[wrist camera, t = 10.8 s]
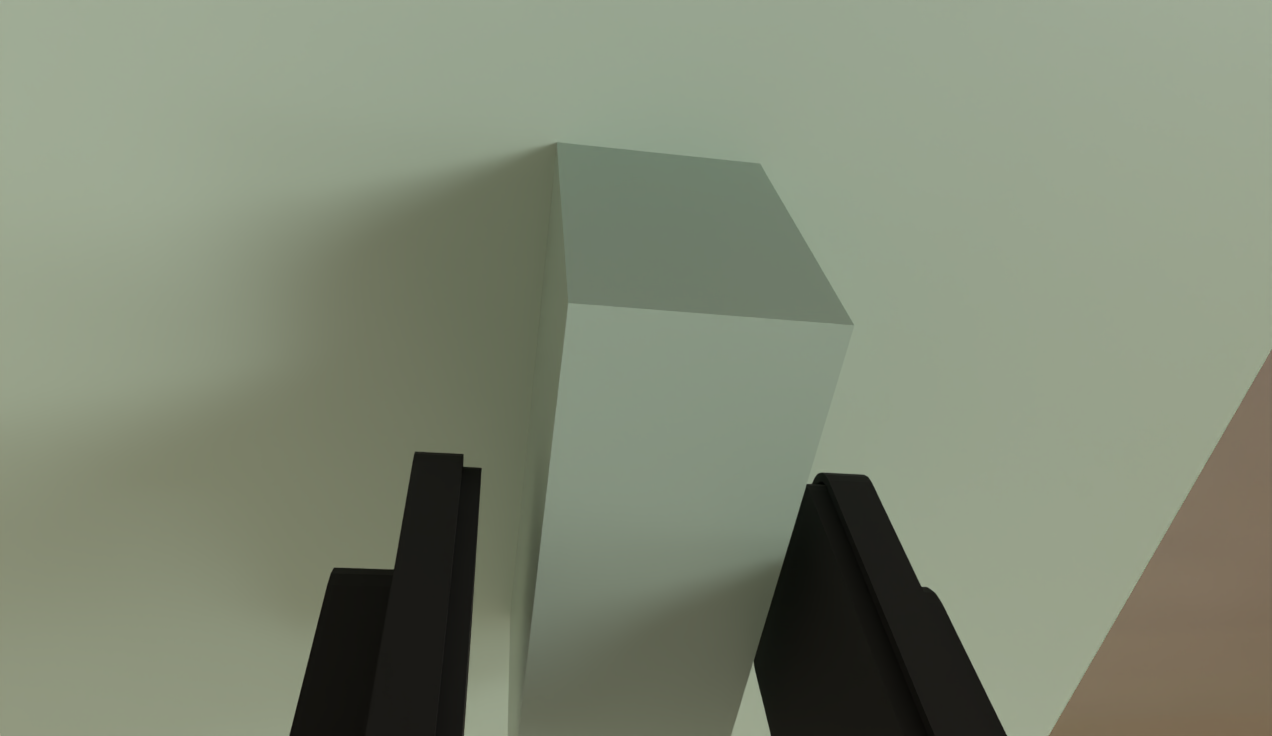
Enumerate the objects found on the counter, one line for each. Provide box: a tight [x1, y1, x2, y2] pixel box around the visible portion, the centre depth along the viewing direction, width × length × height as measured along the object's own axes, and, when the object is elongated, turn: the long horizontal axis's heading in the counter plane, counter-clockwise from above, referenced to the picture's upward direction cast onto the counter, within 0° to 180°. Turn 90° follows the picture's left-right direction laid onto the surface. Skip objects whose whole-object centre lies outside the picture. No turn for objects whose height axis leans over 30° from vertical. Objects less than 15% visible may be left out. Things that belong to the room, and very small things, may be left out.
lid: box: [0, 0, 1272, 736], centre depth 13 cm, size 19×15×6 cm
